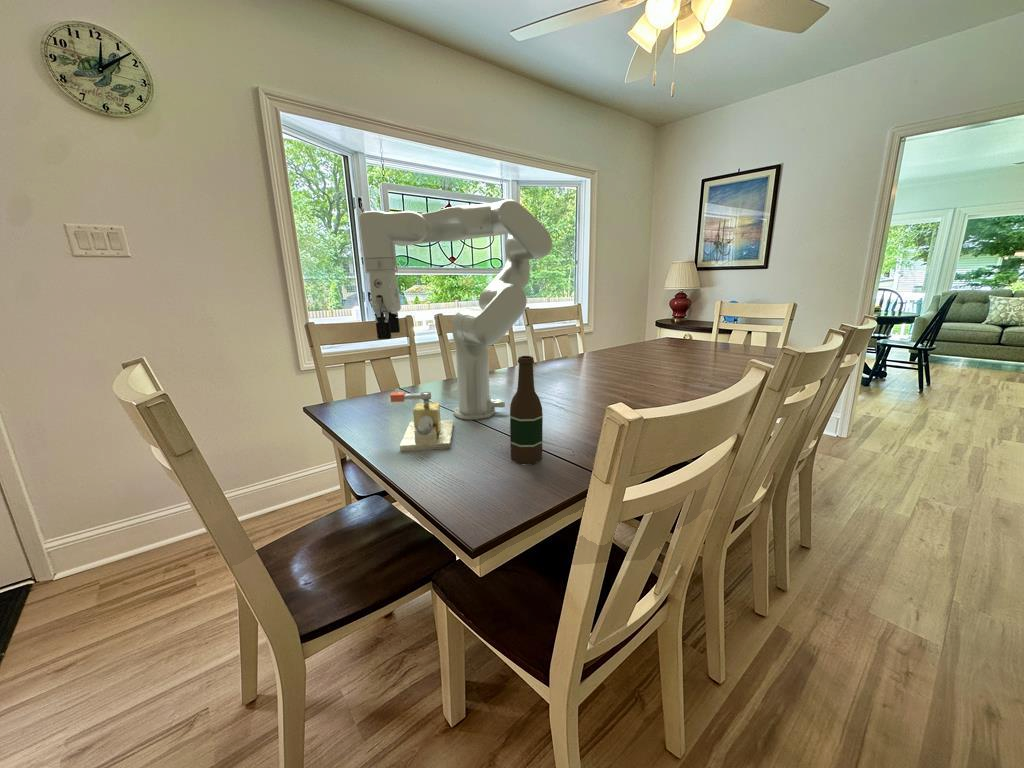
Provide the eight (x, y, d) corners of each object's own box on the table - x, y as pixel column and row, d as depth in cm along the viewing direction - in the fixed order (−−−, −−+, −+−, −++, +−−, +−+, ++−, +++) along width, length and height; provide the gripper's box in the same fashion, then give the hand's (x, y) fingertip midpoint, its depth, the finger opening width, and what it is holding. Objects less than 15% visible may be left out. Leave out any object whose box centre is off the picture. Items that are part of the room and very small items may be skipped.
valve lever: (431, 397, 103) (431, 390, 102) (430, 400, 100) (430, 393, 100) (392, 398, 102) (392, 392, 102) (390, 402, 100) (390, 395, 99)
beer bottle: (517, 468, 87) (516, 362, 81) (504, 454, 94) (502, 355, 87) (548, 461, 90) (550, 358, 84) (533, 448, 97) (533, 352, 90)
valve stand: (453, 424, 113) (451, 389, 110) (450, 448, 97) (447, 408, 94) (410, 426, 112) (407, 391, 109) (400, 451, 96) (396, 410, 93)
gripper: (388, 265, 89) (396, 341, 94) (403, 266, 105) (410, 329, 110) (354, 266, 89) (364, 342, 93) (375, 266, 105) (383, 330, 110)
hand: (389, 335), depth 102 cm, fingers open, 9 cm apart
